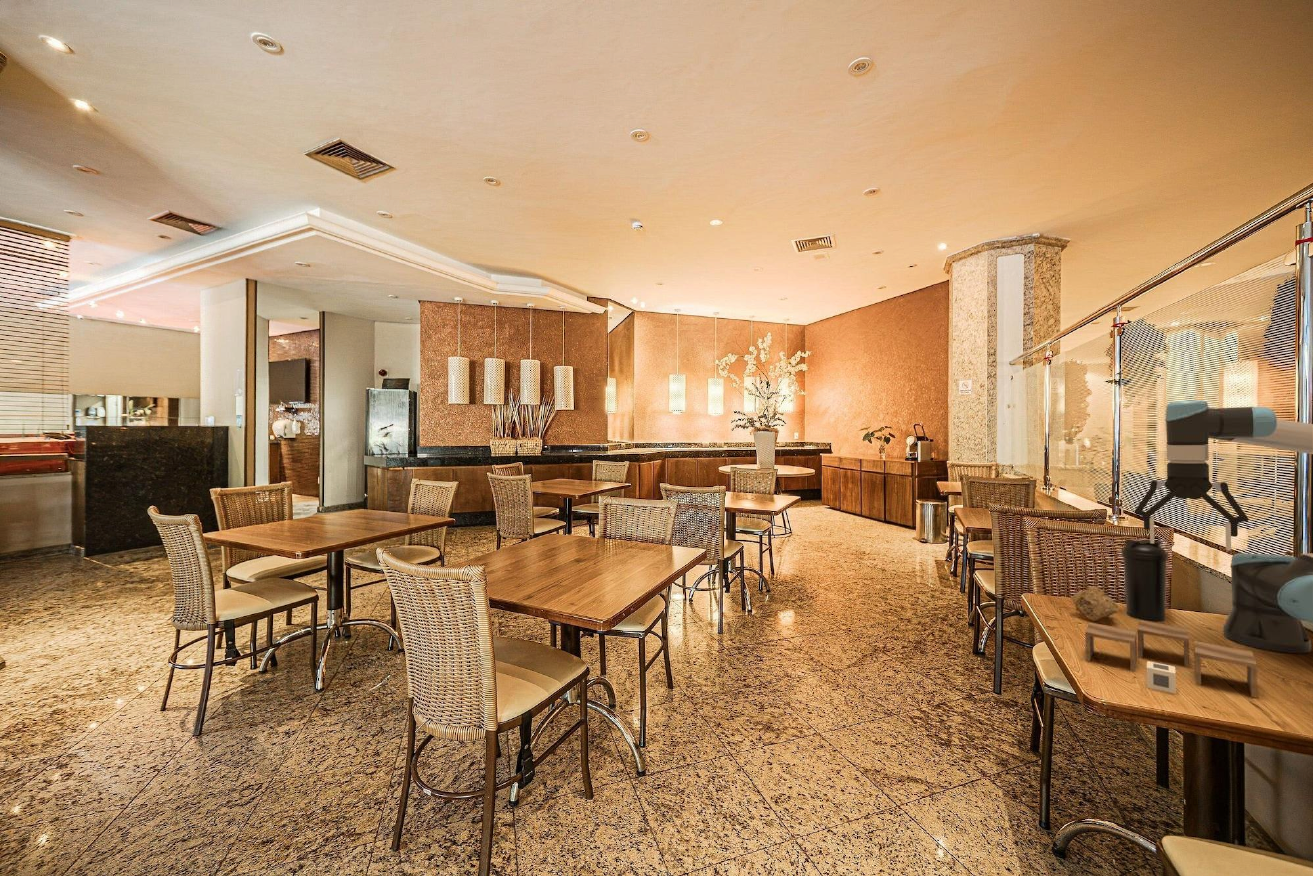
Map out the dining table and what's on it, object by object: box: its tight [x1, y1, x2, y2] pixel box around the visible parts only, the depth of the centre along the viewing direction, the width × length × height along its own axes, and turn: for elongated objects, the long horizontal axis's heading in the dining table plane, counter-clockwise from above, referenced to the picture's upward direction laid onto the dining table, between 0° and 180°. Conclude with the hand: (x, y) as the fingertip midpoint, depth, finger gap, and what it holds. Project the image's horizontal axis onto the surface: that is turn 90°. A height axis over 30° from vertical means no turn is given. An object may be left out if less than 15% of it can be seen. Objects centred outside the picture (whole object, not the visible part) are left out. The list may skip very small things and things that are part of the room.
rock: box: [1070, 585, 1119, 622], centre depth 158 cm, size 12×10×10 cm
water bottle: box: [1121, 539, 1169, 623], centre depth 160 cm, size 10×10×23 cm
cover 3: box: [1193, 640, 1258, 698], centre depth 117 cm, size 9×9×7 cm
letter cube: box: [1146, 660, 1177, 695], centre depth 116 cm, size 5×4×5 cm
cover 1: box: [1084, 622, 1138, 672], centre depth 131 cm, size 9×9×7 cm
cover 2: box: [1136, 619, 1190, 669], centre depth 132 cm, size 9×9×7 cm
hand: (1189, 546), depth 134 cm, fingers open, 13 cm apart
